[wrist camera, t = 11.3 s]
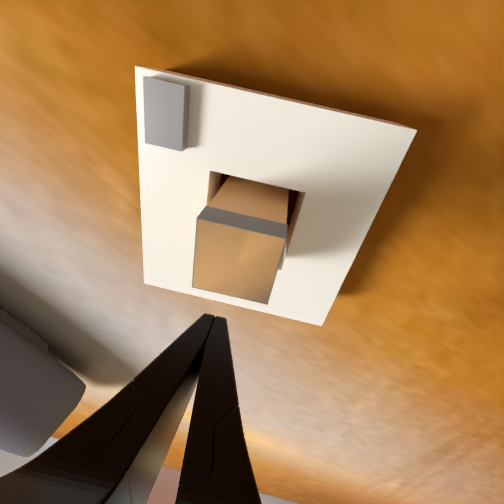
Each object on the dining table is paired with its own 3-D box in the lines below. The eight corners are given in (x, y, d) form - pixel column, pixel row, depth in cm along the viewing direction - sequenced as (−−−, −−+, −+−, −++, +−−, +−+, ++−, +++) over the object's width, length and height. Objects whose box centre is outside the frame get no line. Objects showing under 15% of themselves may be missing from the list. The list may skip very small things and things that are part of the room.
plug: (290, 182, 18) (286, 238, 12) (276, 233, 21) (267, 304, 14) (232, 170, 19) (196, 217, 12) (225, 222, 21) (191, 287, 14)
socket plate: (394, 122, 16) (424, 132, 12) (318, 295, 23) (322, 334, 20) (164, 69, 16) (125, 64, 12) (163, 258, 23) (139, 290, 20)
